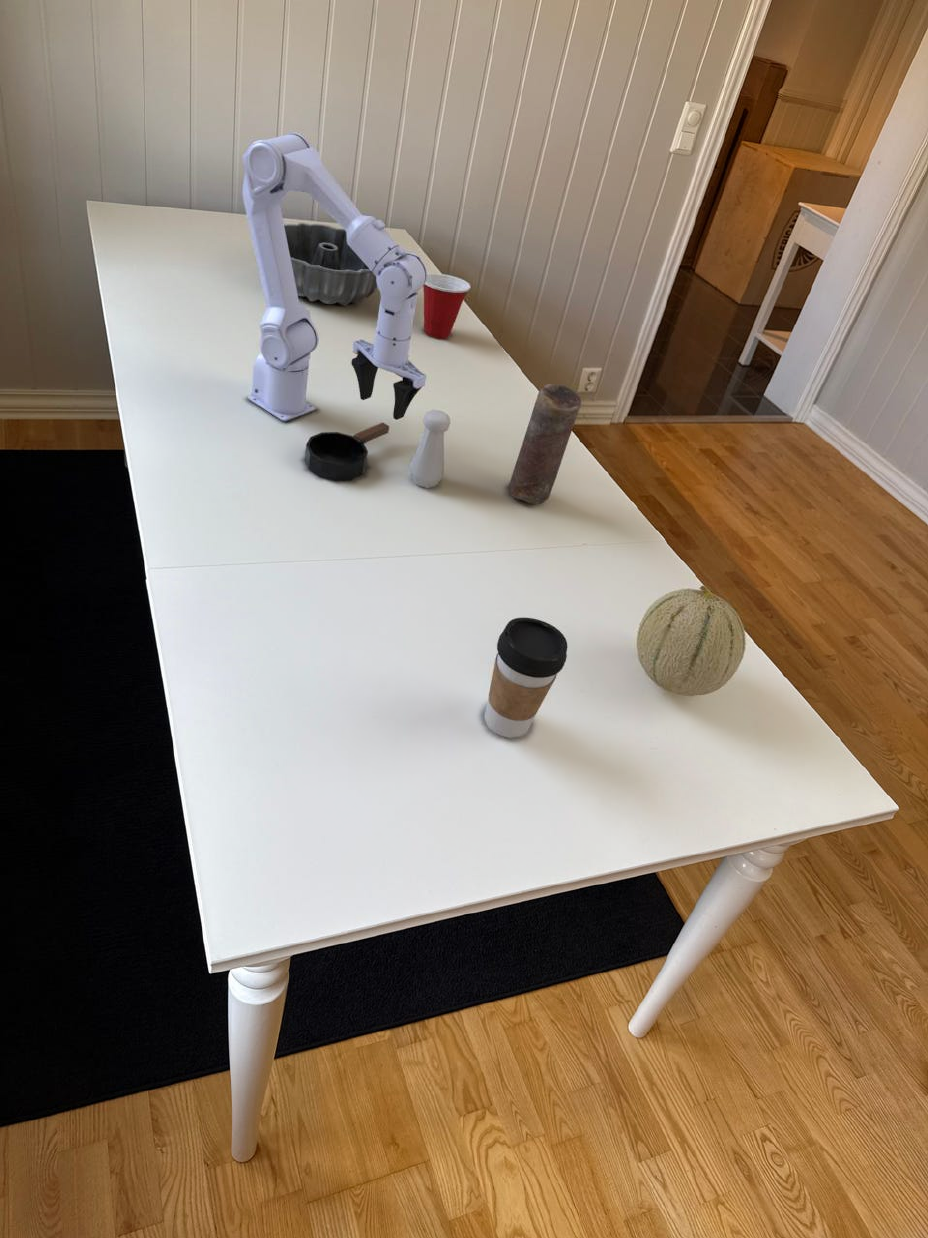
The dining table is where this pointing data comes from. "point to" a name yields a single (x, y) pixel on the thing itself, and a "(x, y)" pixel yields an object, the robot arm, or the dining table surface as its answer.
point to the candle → (544, 443)
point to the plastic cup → (442, 303)
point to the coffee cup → (523, 674)
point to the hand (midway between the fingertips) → (381, 407)
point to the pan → (340, 453)
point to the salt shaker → (430, 450)
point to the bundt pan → (327, 265)
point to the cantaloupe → (691, 642)
